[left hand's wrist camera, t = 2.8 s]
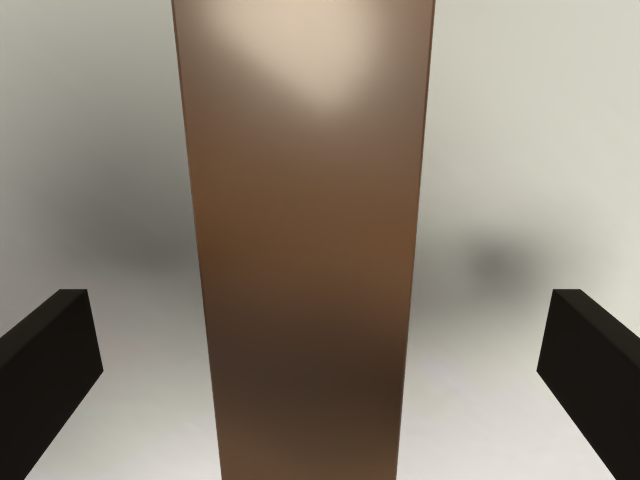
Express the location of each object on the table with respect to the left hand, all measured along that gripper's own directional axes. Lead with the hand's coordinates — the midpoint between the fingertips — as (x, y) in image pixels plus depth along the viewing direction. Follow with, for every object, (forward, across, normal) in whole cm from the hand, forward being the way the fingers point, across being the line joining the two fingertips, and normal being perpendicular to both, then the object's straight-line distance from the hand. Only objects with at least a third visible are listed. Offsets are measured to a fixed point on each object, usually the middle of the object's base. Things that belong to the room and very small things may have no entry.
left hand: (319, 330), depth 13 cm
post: (+6, 0, -35) cm, 35 cm away
